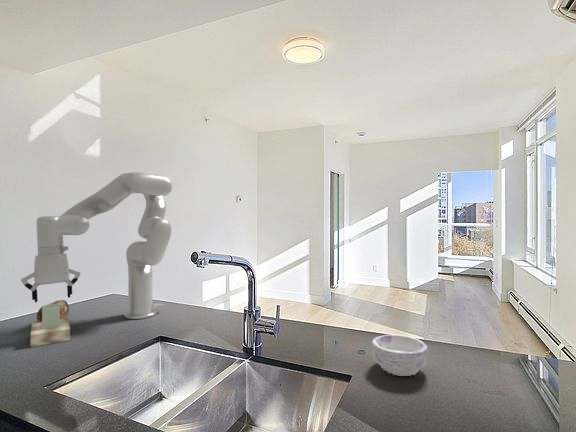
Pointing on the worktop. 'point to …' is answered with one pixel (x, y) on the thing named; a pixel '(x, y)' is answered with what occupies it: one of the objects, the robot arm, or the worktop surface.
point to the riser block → (50, 333)
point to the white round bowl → (399, 354)
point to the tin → (63, 310)
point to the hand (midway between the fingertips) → (52, 299)
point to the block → (50, 316)
